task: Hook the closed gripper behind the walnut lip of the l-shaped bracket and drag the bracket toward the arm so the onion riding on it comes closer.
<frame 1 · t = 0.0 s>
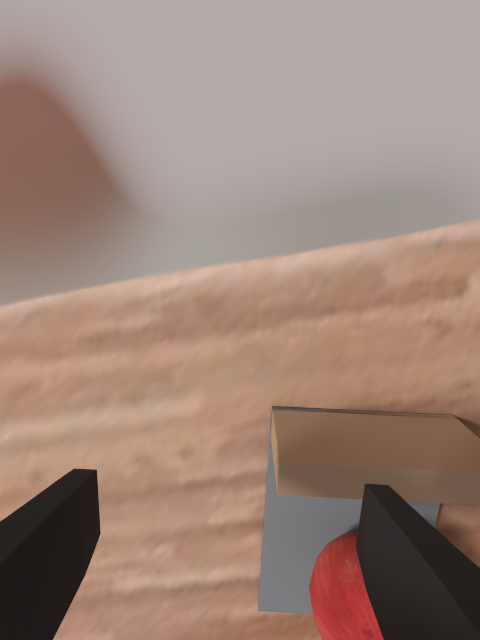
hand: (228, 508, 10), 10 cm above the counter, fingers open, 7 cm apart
onion: (346, 536, 21), resting on l-shaped bracket
l-shaped bracket: (360, 553, 19), point 3 cm above the counter, slide at 0.0 cm, touching onion
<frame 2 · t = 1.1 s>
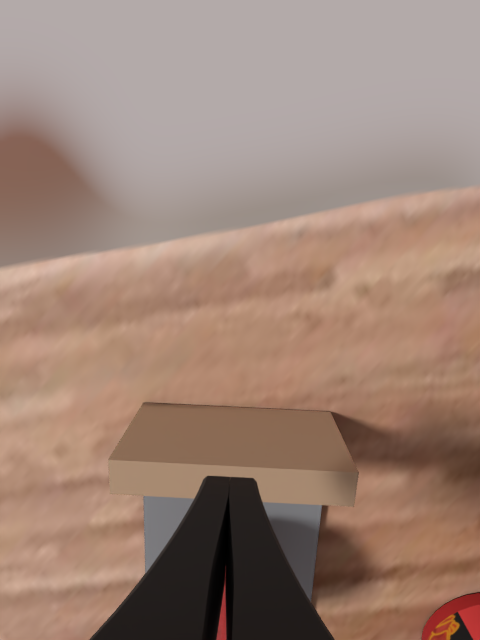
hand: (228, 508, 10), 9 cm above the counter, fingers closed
canned food: (478, 632, 23), on the counter
l-shaped bracket: (229, 555, 18), point 3 cm above the counter, slide at 0.0 cm, touching onion
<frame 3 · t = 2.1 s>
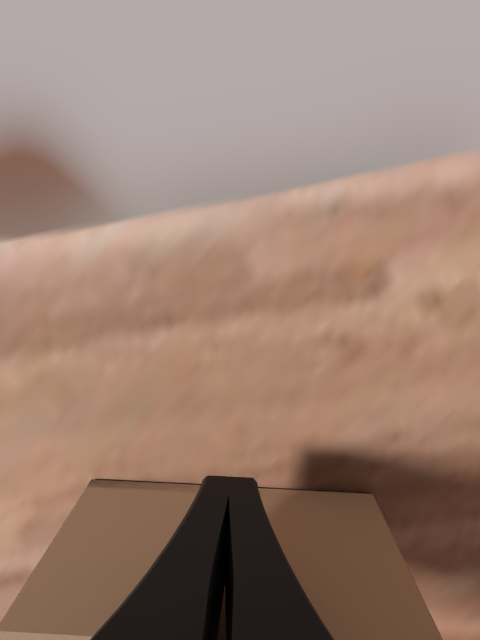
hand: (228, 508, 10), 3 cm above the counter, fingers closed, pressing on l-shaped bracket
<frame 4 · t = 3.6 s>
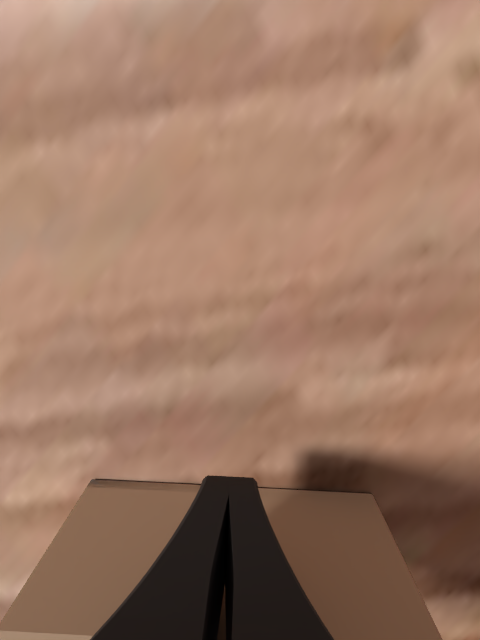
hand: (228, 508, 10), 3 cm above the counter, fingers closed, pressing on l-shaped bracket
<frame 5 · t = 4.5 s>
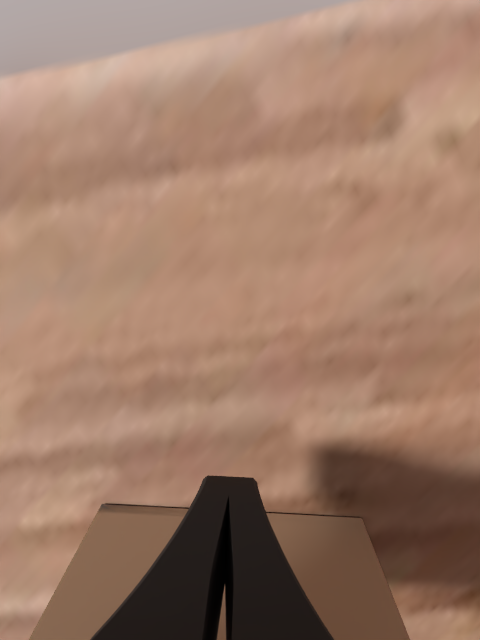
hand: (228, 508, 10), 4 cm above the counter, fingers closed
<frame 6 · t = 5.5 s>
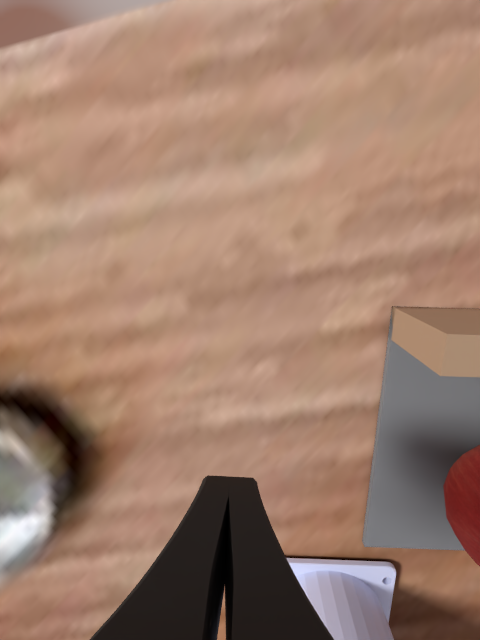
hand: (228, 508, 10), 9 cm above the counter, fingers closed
onion: (467, 457, 19), resting on l-shaped bracket
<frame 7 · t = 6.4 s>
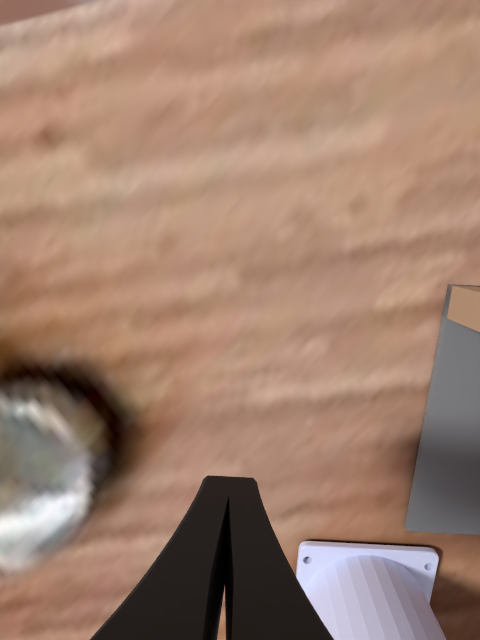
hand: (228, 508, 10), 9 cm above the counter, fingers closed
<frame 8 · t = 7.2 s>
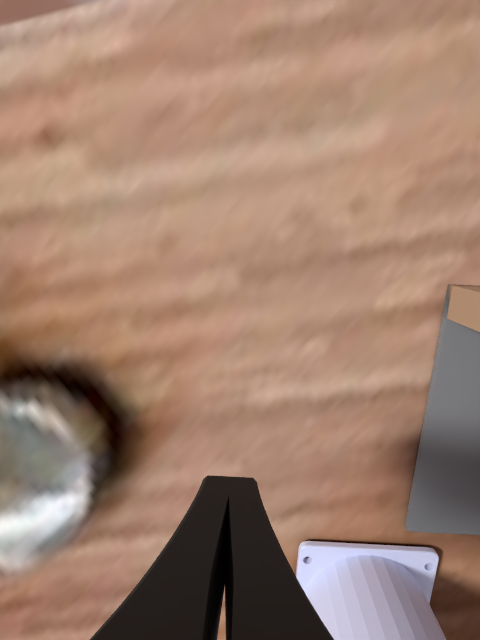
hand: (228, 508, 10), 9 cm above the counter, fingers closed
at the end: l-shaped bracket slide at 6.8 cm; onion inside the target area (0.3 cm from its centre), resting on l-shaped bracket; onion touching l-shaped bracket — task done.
